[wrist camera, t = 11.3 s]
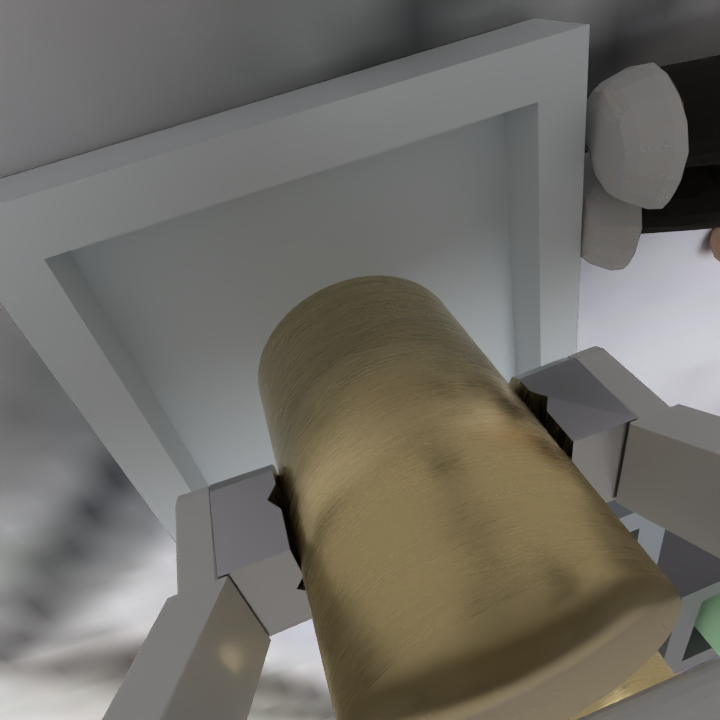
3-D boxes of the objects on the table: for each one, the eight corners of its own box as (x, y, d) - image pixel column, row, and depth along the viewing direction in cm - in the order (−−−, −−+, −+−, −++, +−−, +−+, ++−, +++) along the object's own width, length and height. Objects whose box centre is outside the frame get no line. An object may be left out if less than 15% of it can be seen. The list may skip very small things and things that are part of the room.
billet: (227, 318, 9) (299, 691, 5) (447, 246, 10) (717, 519, 5) (291, 468, 12) (378, 805, 7) (463, 406, 12) (651, 685, 8)
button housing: (607, 509, 22) (682, 597, 19) (757, 448, 23) (852, 523, 20) (598, 597, 26) (657, 680, 23) (724, 543, 27) (798, 617, 24)
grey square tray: (-27, 186, 10) (-60, 222, 8) (533, 18, 11) (590, 24, 9) (207, 539, 16) (211, 592, 15) (539, 411, 18) (572, 450, 16)
